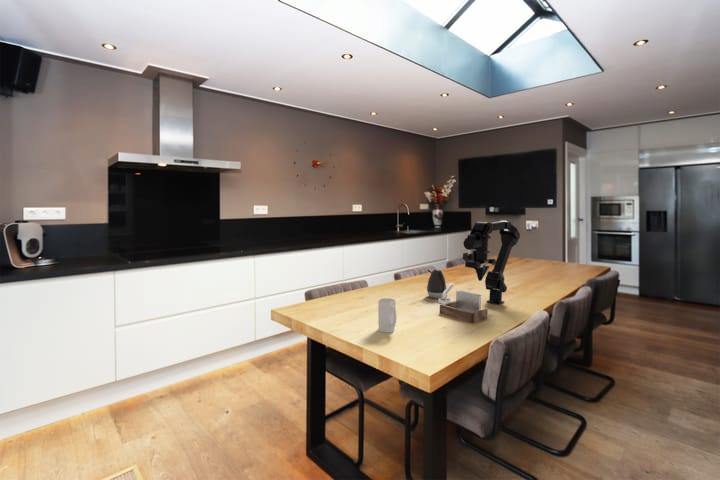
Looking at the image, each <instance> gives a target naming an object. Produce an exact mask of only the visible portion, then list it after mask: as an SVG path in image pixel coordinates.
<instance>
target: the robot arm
mask: <svg viewBox="0 0 720 480" xmlns="http://www.w3.org/2000/svg"><path fill="white" fill-rule="evenodd" d="M494 231H498V232H499V235H500V242H501V246H500V249H499V252H498V255H497V257H496V258H493V257H492V258H491V257H488V254H490V250H489V240H490V239H491V238H492V237H491V236H490V234H492V233H493V232H494ZM520 237H521V233H520V231H519V230H518V228H517V227H516V226H514V225H513V223H512V222H510V221H509V220H499V221H494V222H493V221H491V222H489V221H488V222H487V221H476V222H475V223H474V225H473V227H472V228H471V230H470V233H469V234H467V237H466V238H465V239H464V240H463V247H464V248H465V249H466V250H472V252H471V253H468V252H464V253H462V258H461V259H463V260H464V267H465V268H469V269H474V270H475V272H476V276H477V278H478V281H479V282H480V281H482V280H483V279H484V276H485V275H486V276H485V280H484V284H485V285H484V286H485V290H487V291H489V296H488V297H489V299H488V300H486V303H490V304H495V305H501V304H504V303H505V301H503V293H506V292H507V290H508V287H507V285H506V283H505V275H504V271H505V269H506V266H507V263H508V261H509V257H510V253H511V251H512V249H513V247H514V246H516V245H517V244H518V242H519V239H520ZM488 264H491V265H492V266H493V268H492V270H491V271H489V268H491V266H490V265H488Z"/></svg>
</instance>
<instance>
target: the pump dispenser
mask: <svg viewBox="0 0 720 480" xmlns="http://www.w3.org/2000/svg"><path fill="white" fill-rule="evenodd" d="M427 272H428V273H430V275H429V278H428V281H427V285H426V292H427V294H428V296H429V297H430V298H432V299H437V300H438V299H439V298H443V297H442V293H443V292H444V291H445V290H446V288H447V281H446V279H445V275H444V273H443V271H442V270H441V269H438V268H435V269H433V270H431V269H427Z"/></svg>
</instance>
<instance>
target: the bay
mask: <svg viewBox="0 0 720 480" xmlns="http://www.w3.org/2000/svg"><path fill="white" fill-rule="evenodd" d="M488 312H489V310H488V309H487V308H483V309H481V310H480V311H477V312H473V313H471V312H468V311H464V310H460V309H457V308H456V300H452V302H448V303H445V304H439V314H441V315H443V314H444V315H443V316H448V317H450V318H454V319H457V320H461V321H464V322H468V323H471V324H475V323H478V322H481V321H484V320H486V319H488V314H489V313H488Z"/></svg>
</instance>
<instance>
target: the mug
mask: <svg viewBox="0 0 720 480" xmlns="http://www.w3.org/2000/svg"><path fill="white" fill-rule="evenodd" d="M377 300H378V305H377V306H378V307H377V308H378V309H377V310H378V311H377V312H378V316H377V317H378V322H377V323H378V331H379V332H380V333H386V334H390V333H393V332H395V327H396V324H397V319H398V318H397V308H396V305H397V304H396V303H397V301H396V299H394V298H390V297H389V298H388V297H385V298H379V299H377Z"/></svg>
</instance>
